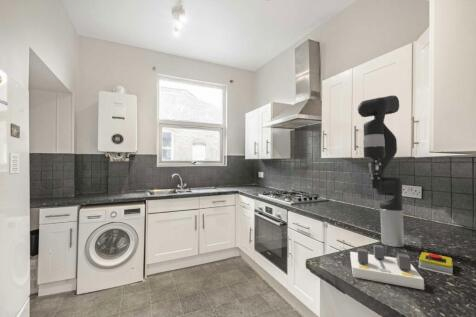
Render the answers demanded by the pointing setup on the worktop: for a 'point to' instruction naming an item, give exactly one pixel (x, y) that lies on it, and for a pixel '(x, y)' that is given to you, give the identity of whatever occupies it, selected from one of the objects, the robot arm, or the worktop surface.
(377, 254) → the switch
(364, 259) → the switch
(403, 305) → the worktop surface
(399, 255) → the switch
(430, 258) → the emergency button
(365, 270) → the switch panel
